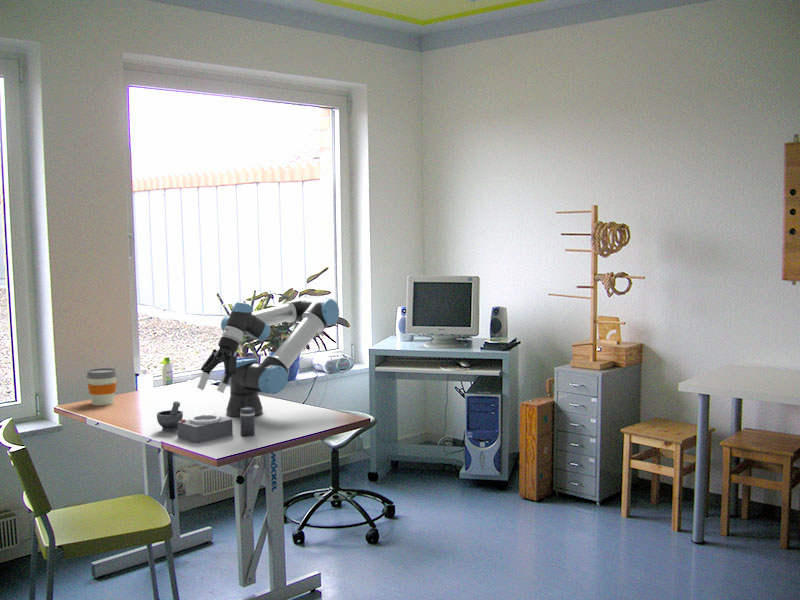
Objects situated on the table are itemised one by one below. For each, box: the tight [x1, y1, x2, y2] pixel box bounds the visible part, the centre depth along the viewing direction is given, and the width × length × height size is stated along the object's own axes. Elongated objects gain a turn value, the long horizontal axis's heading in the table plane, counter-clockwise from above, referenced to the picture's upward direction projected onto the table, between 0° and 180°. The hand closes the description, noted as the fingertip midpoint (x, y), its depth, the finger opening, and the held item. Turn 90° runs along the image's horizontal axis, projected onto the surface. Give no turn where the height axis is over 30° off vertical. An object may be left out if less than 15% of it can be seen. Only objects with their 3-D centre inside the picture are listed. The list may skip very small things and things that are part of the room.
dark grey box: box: [177, 414, 234, 444], centre depth 288 cm, size 16×12×7 cm
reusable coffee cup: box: [86, 367, 118, 406], centre depth 344 cm, size 13×13×15 cm
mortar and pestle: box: [156, 401, 184, 433], centre depth 296 cm, size 11×9×12 cm
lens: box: [239, 407, 256, 438], centre depth 290 cm, size 5×5×10 cm
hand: (209, 390), depth 294 cm, fingers open, 13 cm apart
